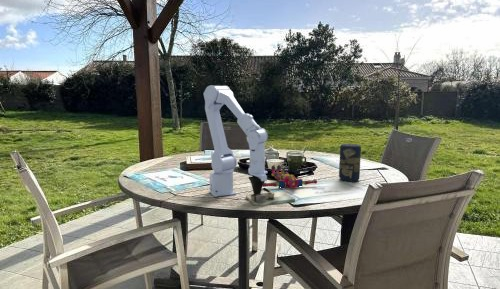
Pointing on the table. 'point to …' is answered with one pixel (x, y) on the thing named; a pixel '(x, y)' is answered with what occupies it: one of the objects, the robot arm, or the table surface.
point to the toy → (286, 179)
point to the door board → (278, 198)
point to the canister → (349, 162)
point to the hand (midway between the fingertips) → (257, 195)
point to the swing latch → (268, 195)
